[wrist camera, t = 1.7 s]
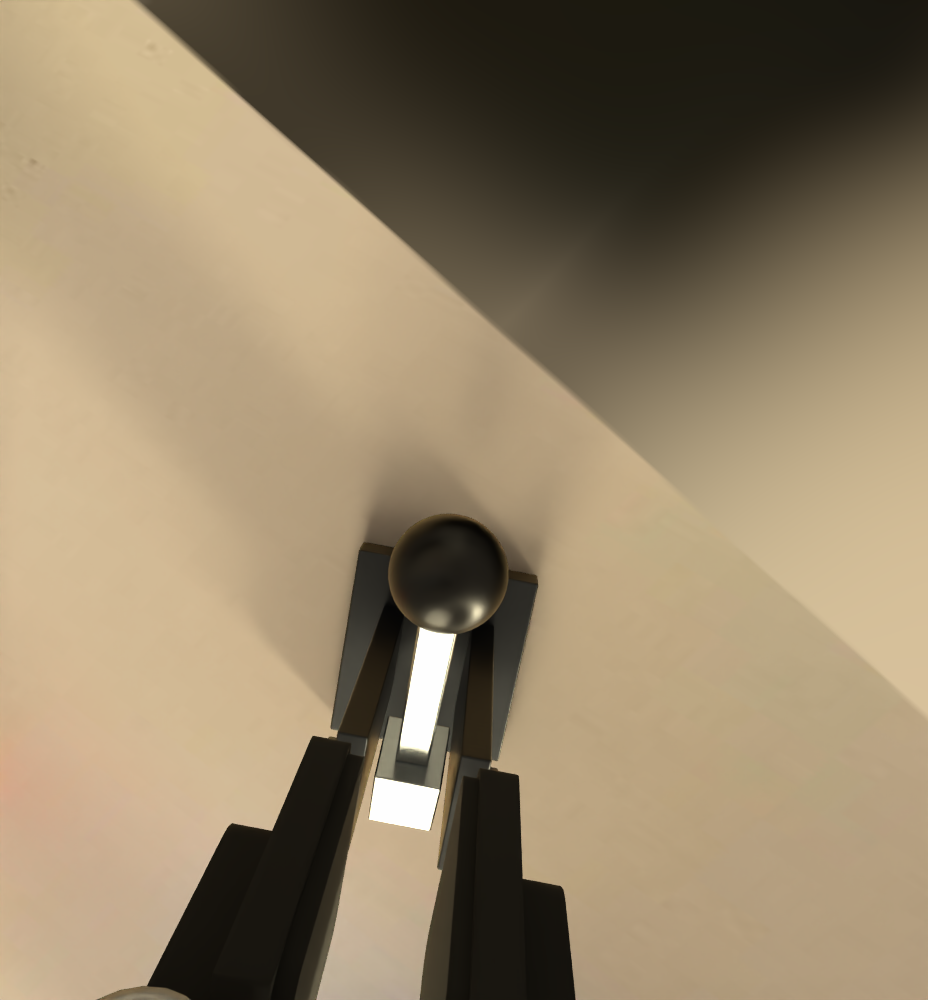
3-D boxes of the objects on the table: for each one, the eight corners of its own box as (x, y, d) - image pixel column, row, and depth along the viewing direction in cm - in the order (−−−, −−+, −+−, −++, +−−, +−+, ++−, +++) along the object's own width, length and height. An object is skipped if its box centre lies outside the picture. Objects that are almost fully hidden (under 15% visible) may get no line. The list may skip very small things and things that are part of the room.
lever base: (363, 541, 36) (300, 658, 25) (537, 574, 36) (553, 706, 25) (334, 716, 39) (265, 896, 27) (498, 747, 39) (497, 940, 27)
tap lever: (405, 479, 22) (382, 561, 19) (522, 502, 22) (514, 587, 19) (370, 746, 30) (351, 828, 28) (454, 762, 30) (443, 845, 28)
